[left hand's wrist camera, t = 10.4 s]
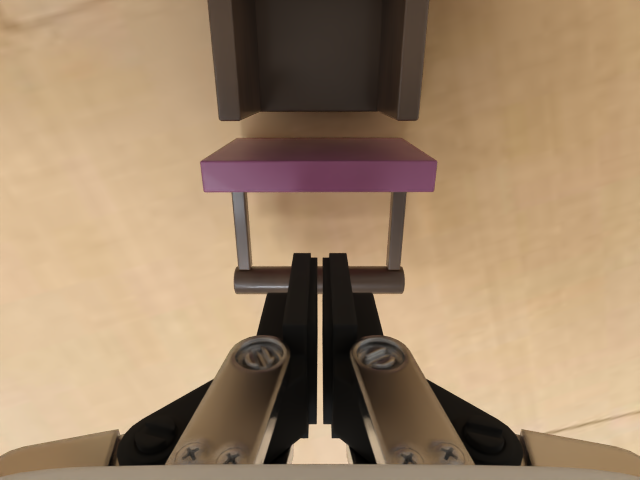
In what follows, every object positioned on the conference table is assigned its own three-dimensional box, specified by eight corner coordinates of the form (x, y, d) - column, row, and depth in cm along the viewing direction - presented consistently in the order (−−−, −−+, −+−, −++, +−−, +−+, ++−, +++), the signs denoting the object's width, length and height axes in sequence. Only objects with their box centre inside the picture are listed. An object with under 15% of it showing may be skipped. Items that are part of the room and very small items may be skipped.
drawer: (392, 261, 23) (419, 325, 17) (246, 261, 23) (219, 325, 17) (438, -334, 14) (531, -663, 8) (197, -334, 14) (101, -661, 8)
